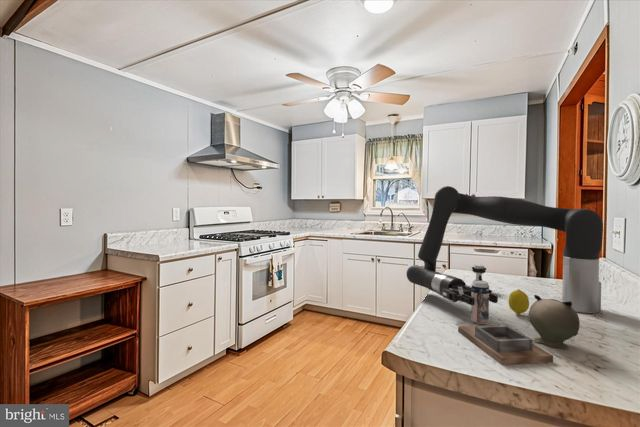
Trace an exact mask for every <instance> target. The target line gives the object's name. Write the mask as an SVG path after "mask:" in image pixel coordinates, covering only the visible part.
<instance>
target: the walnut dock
mask: <svg viewBox="0 0 640 427" xmlns="http://www.w3.org/2000/svg"><path fill="white" fill-rule="evenodd" d="M457 332H458V333H459V334H461V335H462V336H463V337H464V338H466V339H467V340H469V342H471V343H472V344H474V345H475V346H476V347H478V348H479V349H480V350H482V352H484V353H485V354H486V355H488V356H489V357H491V358H492V359H493V360H495V362H497V363H499V364H500V365H501V366H505V365H508V366H509V365H510V366H511V365H526V364H527V365H528V364H545V363H554V355H553V354H551V353H549V352H548V351H546V350H544V349H542V348H541V347H539V346H538V345H536V344H535V343H533V342H534V341H533V340H534V339H532V338H531V337H529V336H527V335H525V334H524V333H522V332H519V331H518V330H516V329H514V328H513V327H511V326H509V325H507V324H506V325H501V324H484V325H482V324H476V325H460V326H459V325H458V326H457Z"/></svg>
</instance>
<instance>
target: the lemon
mask: <svg viewBox="0 0 640 427" xmlns="http://www.w3.org/2000/svg"><path fill="white" fill-rule="evenodd" d="M529 300H530V299H529V296H528V295H527V294H526V293H525V292H524V291H522V290H521V289H519V288H518V289H517V290H513V291H512V292H511V293H510V294H509V296H508V306H509V308H510V309H511V311H513V312H514V313H516V314H517V315H518V316H519V315H521V314H524V313H526V312H527V311H529V310H528V309H529V308H530V307H529V306H530V301H529Z"/></svg>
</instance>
